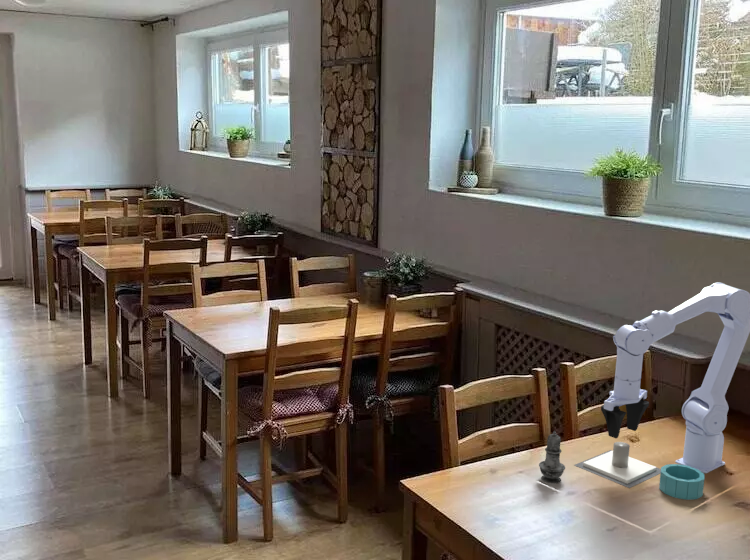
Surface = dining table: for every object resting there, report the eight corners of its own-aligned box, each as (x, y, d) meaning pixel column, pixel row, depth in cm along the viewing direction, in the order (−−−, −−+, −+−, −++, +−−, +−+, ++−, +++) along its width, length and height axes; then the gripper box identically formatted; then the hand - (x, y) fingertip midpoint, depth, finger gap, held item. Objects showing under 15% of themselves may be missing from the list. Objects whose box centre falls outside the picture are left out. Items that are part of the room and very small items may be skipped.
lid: (612, 453, 196) (614, 431, 195) (656, 470, 187) (658, 447, 186) (582, 465, 189) (584, 442, 187) (627, 483, 180) (629, 459, 178)
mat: (610, 451, 198) (610, 450, 198) (665, 472, 187) (665, 470, 187) (573, 466, 189) (573, 465, 189) (629, 489, 178) (629, 487, 178)
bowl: (672, 479, 184) (674, 460, 183) (709, 493, 177) (712, 474, 176) (651, 489, 178) (653, 470, 177) (688, 504, 171) (691, 485, 170)
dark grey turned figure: (564, 487, 178) (568, 437, 175) (537, 484, 179) (541, 434, 177) (563, 476, 183) (567, 427, 181) (537, 473, 185) (541, 424, 182)
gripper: (630, 367, 191) (625, 421, 194) (594, 378, 182) (589, 434, 185) (656, 375, 186) (651, 430, 188) (621, 386, 177) (616, 444, 179)
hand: (622, 433), depth 186 cm, fingers open, 7 cm apart
